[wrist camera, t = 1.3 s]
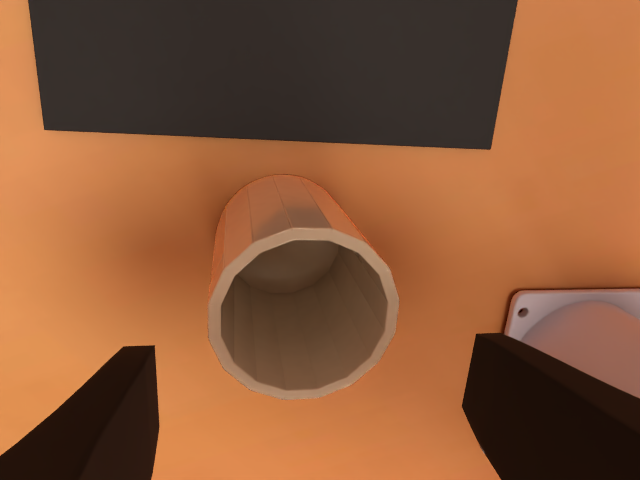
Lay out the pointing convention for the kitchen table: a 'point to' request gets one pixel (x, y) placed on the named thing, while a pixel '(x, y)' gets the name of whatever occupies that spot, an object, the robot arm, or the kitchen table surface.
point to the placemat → (275, 68)
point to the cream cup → (296, 292)
